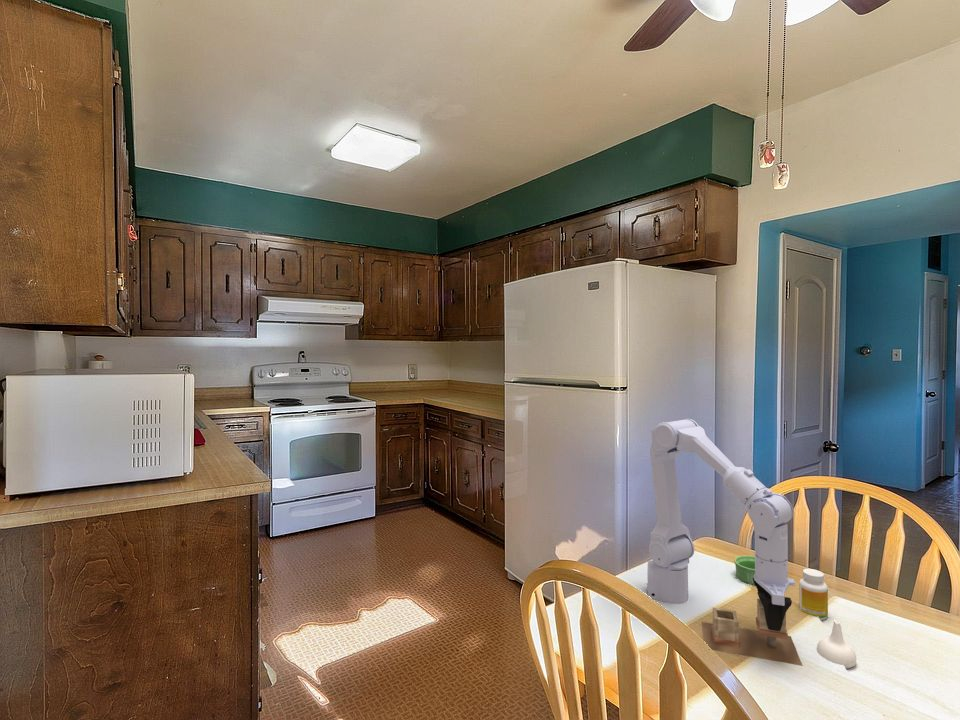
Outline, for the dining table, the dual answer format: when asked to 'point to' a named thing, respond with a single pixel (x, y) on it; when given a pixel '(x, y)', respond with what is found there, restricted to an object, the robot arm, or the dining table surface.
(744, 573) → the ramekin
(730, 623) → the seated sleeve
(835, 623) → the garlic bulb
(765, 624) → the banded sleeve
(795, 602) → the dining table surface
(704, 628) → the pin board
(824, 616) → the supplement bottle
